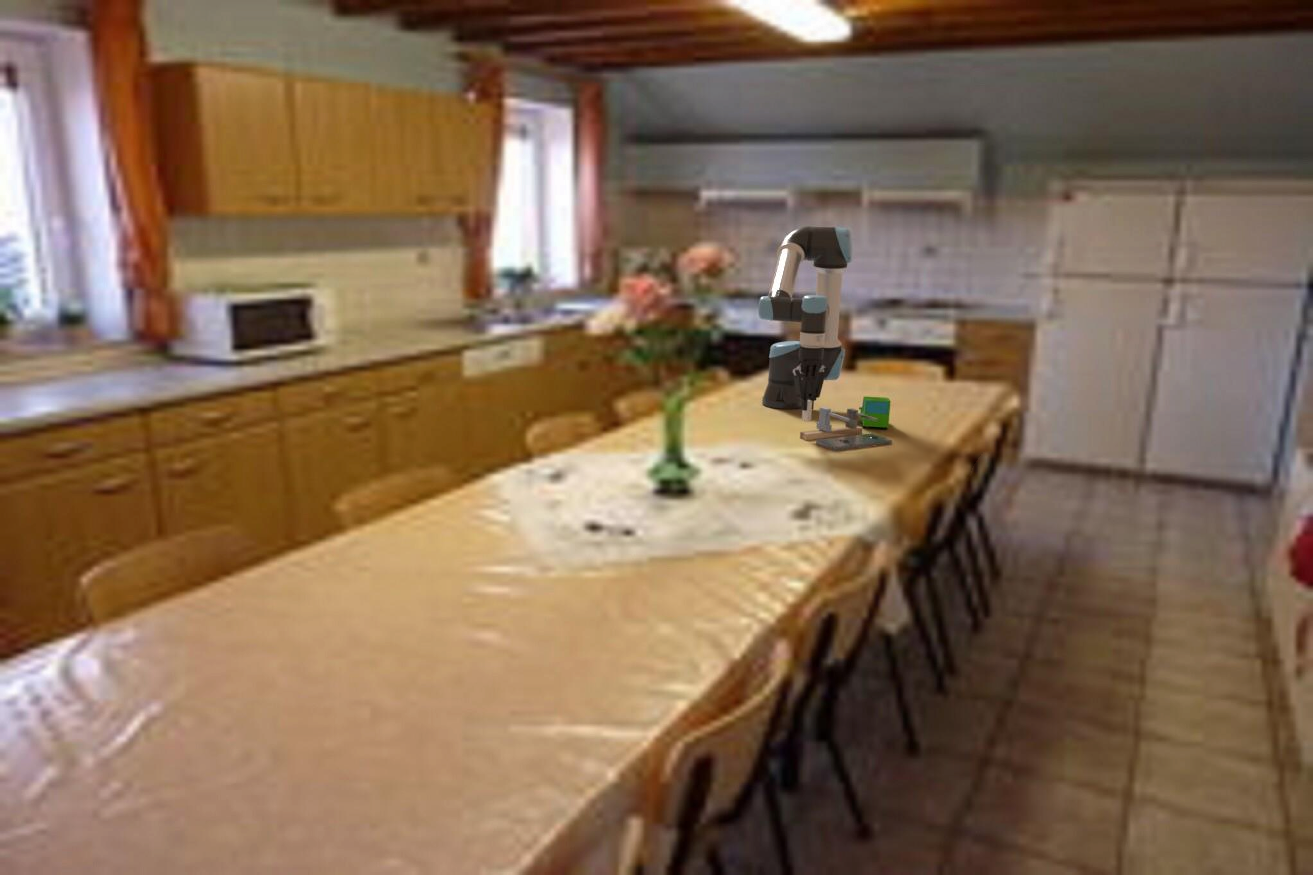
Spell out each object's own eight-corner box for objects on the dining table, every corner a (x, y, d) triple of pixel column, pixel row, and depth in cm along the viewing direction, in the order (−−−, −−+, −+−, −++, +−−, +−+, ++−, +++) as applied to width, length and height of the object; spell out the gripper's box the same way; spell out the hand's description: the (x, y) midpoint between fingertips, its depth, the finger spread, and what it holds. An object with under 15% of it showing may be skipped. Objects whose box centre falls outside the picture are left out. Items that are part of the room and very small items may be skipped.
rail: (799, 438, 300) (801, 413, 298) (855, 431, 311) (857, 407, 309) (825, 447, 289) (827, 422, 287) (882, 440, 300) (885, 416, 298)
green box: (885, 421, 326) (888, 393, 324) (891, 431, 313) (893, 401, 311) (856, 420, 327) (858, 392, 325) (859, 429, 314) (862, 400, 312)
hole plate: (815, 443, 293) (815, 440, 293) (872, 436, 304) (872, 433, 304) (834, 451, 286) (834, 447, 285) (891, 443, 297) (892, 439, 296)
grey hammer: (816, 428, 304) (817, 407, 302) (821, 427, 305) (822, 406, 303) (844, 438, 292) (846, 416, 290) (849, 437, 293) (851, 415, 291)
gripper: (802, 348, 286) (797, 424, 291) (836, 346, 292) (830, 420, 298) (787, 345, 292) (782, 419, 298) (820, 343, 298) (815, 415, 304)
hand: (806, 420), depth 298 cm, fingers closed
